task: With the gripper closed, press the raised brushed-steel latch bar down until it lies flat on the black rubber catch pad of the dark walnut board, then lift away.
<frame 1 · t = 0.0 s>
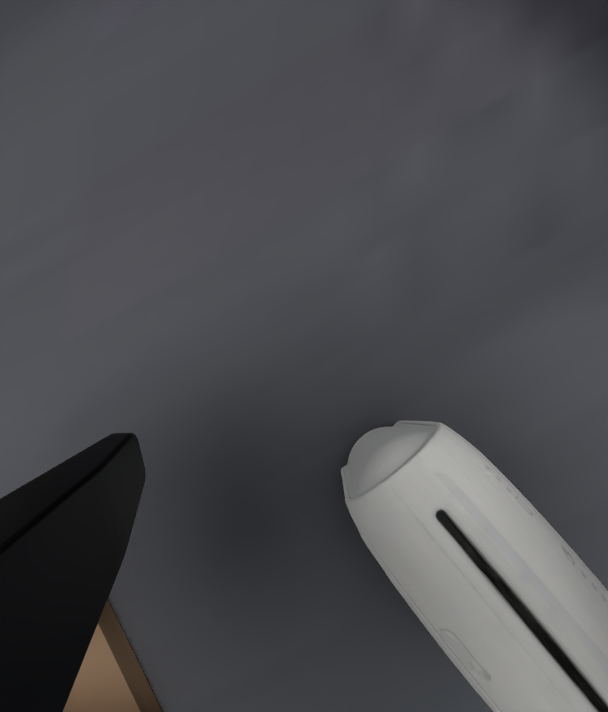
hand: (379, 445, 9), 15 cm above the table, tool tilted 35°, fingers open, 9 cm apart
photo printer: (433, 522, 23), on the table
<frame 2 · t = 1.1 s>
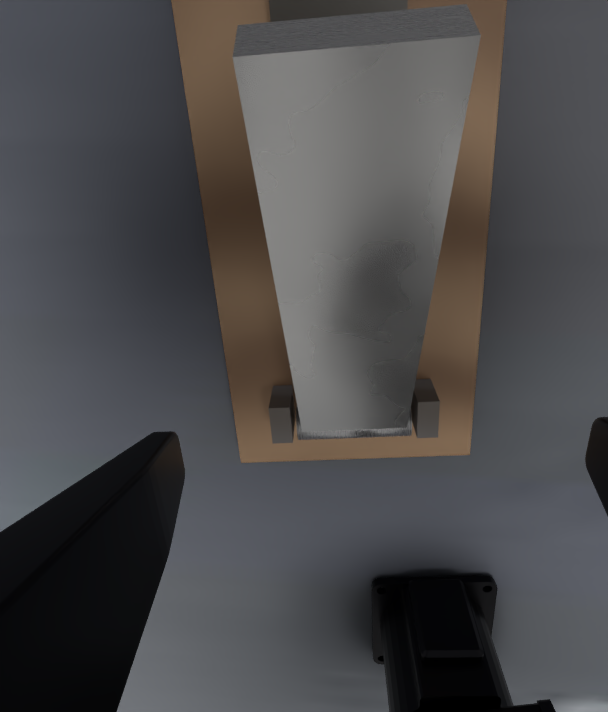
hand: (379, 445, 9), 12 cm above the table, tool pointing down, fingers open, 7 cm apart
walnut board: (344, 220, 19), on the table
latch bar: (353, 311, 14), point 6 cm above the table, hinge at 30.0°
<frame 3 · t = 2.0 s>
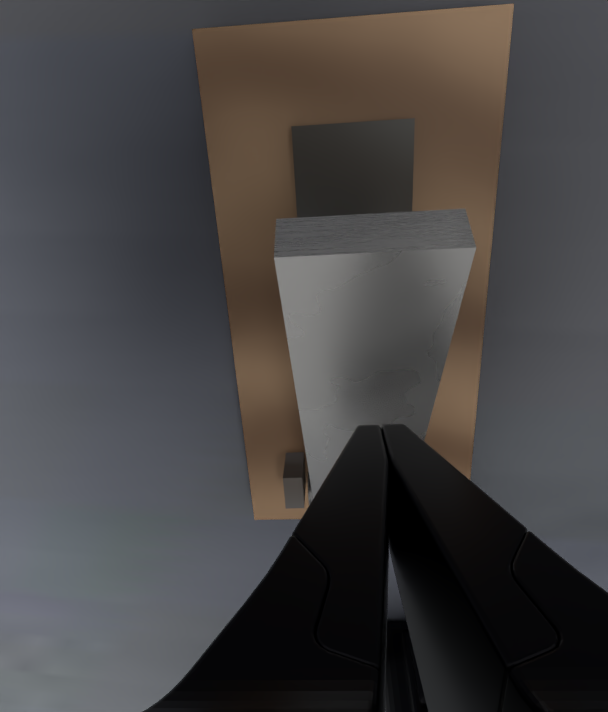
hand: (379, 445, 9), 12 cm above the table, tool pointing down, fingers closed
walnut board: (353, 306, 21), on the table
latch bar: (363, 410, 16), point 6 cm above the table, hinge at 30.0°
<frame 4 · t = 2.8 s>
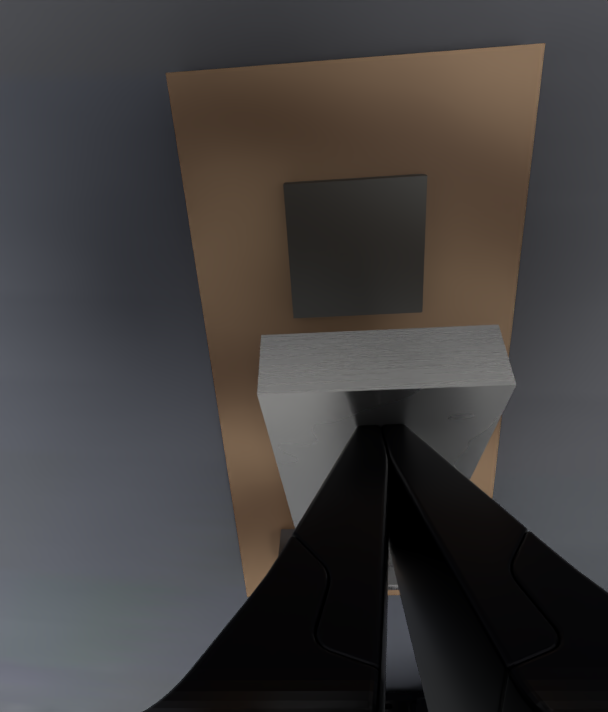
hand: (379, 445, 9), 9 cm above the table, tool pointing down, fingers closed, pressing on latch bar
walnut board: (355, 371, 19), on the table
latch bar: (368, 512, 14), point 6 cm above the table, hinge at 29.1°, touching gripper
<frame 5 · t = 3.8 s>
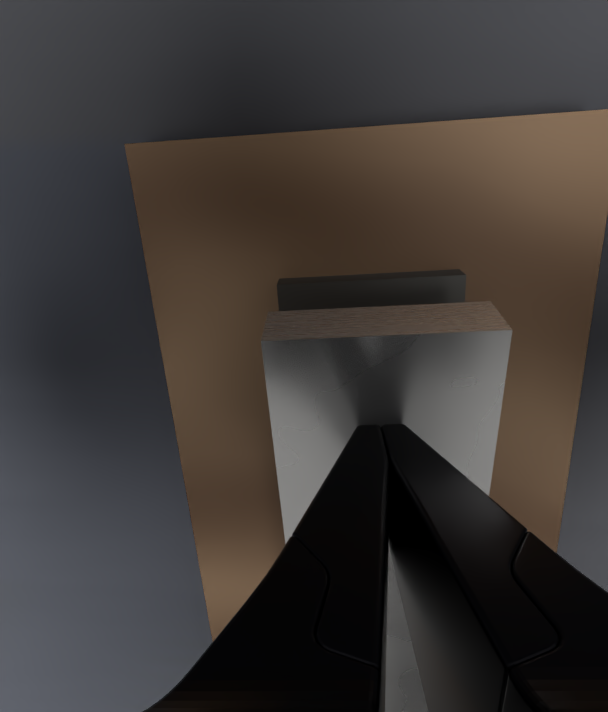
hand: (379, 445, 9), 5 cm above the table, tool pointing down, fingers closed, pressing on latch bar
walnut board: (368, 493, 15), on the table
latch bar: (379, 600, 12), point 4 cm above the table, hinge at 7.0°, touching gripper
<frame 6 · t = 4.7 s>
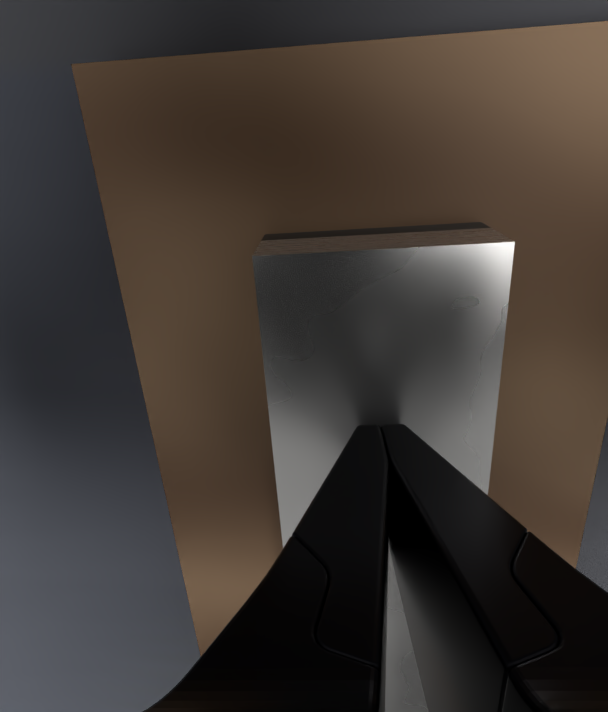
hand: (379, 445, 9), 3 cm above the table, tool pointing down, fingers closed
walnut board: (369, 481, 14), on the table
latch bar: (378, 571, 11), point 3 cm above the table, hinge at 0.1°
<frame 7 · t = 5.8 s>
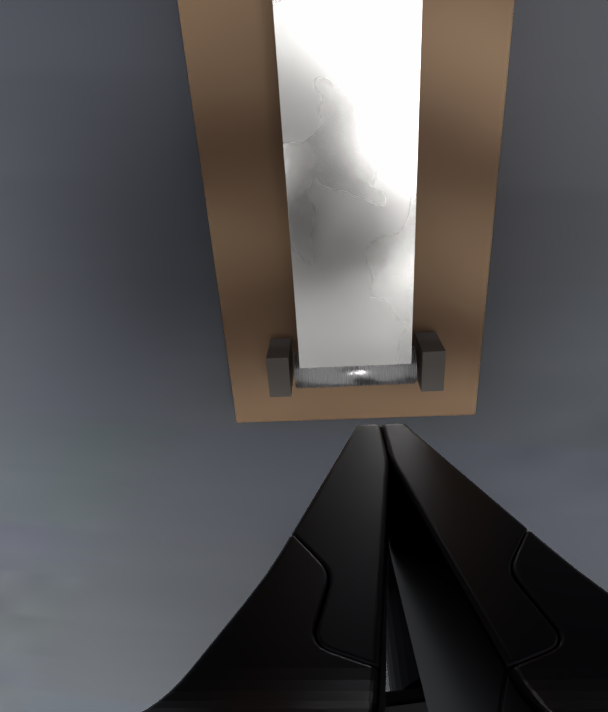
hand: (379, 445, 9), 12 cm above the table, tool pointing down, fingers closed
walnut board: (346, 162, 18), on the table
latch bar: (350, 180, 16), point 3 cm above the table, hinge at 0.0°
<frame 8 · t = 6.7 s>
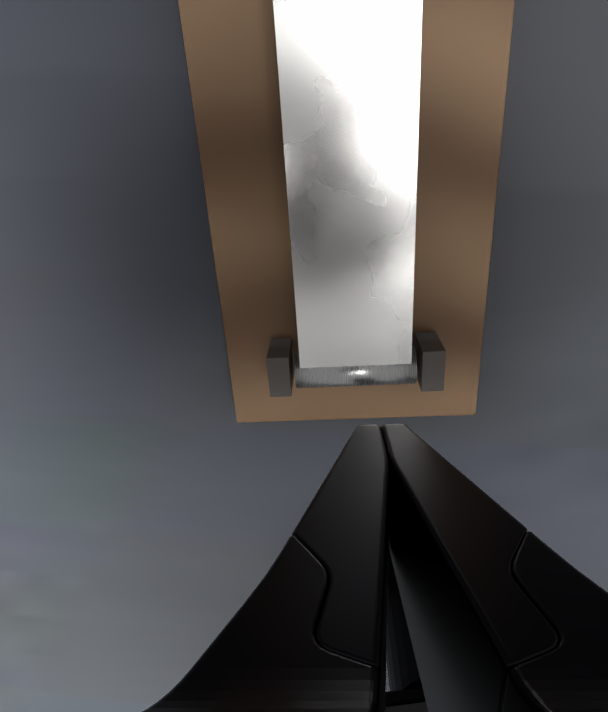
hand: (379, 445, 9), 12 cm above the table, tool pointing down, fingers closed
walnut board: (346, 162, 18), on the table
latch bar: (350, 180, 16), point 3 cm above the table, hinge at 0.0°
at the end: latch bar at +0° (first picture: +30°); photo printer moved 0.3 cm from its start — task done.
